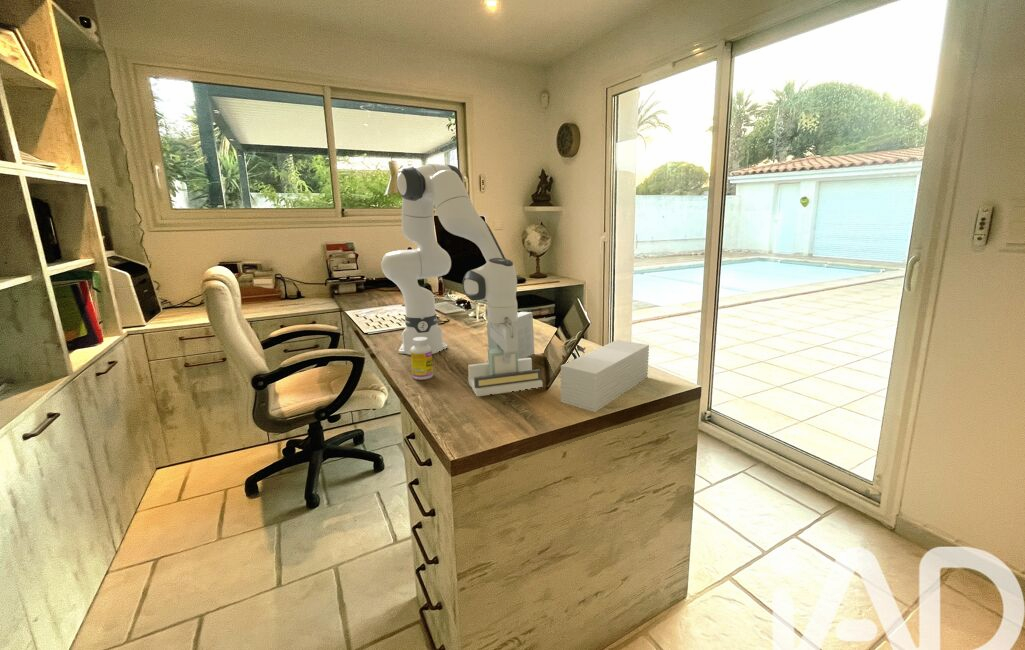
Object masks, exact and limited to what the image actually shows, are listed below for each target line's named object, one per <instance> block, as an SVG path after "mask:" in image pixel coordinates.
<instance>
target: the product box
mask: <svg viewBox="0 0 1025 650" xmlns="http://www.w3.org/2000/svg"><path fill="white" fill-rule="evenodd" d="M503 357H504V350H503V349H502V348H496V349H489V348H488V349H487V358H488V360H487V361H488V362H487V363H489V375H495V374H503V373H511V372H518V352H517V353H512V354H511V358H510V359H511V362H510V363H509V364H505V363H504V361H503Z"/></svg>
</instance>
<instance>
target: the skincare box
mask: <svg viewBox="0 0 1025 650" xmlns="http://www.w3.org/2000/svg"><path fill="white" fill-rule="evenodd" d="M517 313H518V320H517V321H515V322H513V324H514V325H515V326H516V328H517V332H518V344H519V350H518V359H523V358H530V357H531V356H533V355H535V342H534V341H535V339H534V337H535V336H534V335H535V334H534V319H533V318H534V317H533V314H534V313H533V312H531V311H529V312H528V311H520V312H517ZM486 333H487V343H488V349H496V342H495V341H494V340H493V339H492V338H491V337H490V334H489V327H488V322H486Z"/></svg>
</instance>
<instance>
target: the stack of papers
mask: <svg viewBox="0 0 1025 650" xmlns="http://www.w3.org/2000/svg"><path fill="white" fill-rule="evenodd" d="M649 352H650V344H645V343H640V342H634V341H628V340H623V339H616V340H614V341H612V342H609V343H607V344H605V345H602V346H601V347H599V348H596V349H593V350H592V351H590V352H588V353H584V354H583V355H581V356H579V357H577V358H576V359H574V358H573V359H574V360H573V359H571V360H570V361H568V363H566V362H565V363H564V364H561V365H560V403H562V402H563V404H566V403H567V404H566V405H569V404H570V406H572V405H573V407H576V408H580V409H582V410H587V411H590V412H594V413H596V412H598V411H599V410H601V409H602V408H604V407H605V406H606V405H608V404H610V403H612V402H613V401H615V398H616V399H617V398H619V397H620V396H622V395H624V394H625V393H626V392H627V390H628V391H629V390H631V389H632V388H634V387H635V386H637V385H638V384H640V383H641V382H643V381H644V380H645V378H646V379H647V378H648V377H649V376H648V374H649V372H648V371H649V356H650V355H649V354H650V353H649ZM642 380H643V381H642ZM639 382H640V383H639ZM636 384H637V385H636ZM633 386H634V387H633ZM630 388H631V389H630ZM624 392H625V393H624ZM621 394H622V395H621ZM618 396H619V397H618ZM612 400H613V401H612Z"/></svg>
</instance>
